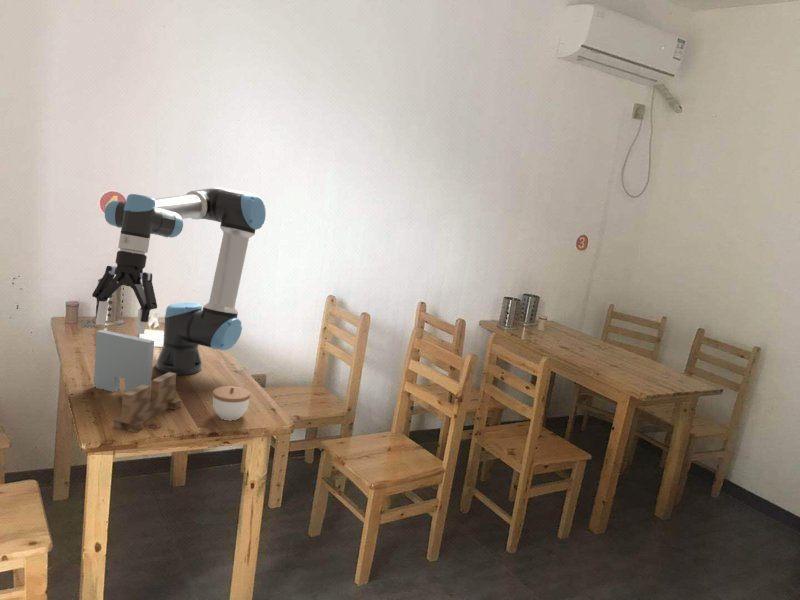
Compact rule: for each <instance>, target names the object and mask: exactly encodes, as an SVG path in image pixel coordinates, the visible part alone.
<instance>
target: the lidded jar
mask: <svg viewBox="0 0 800 600" xmlns="http://www.w3.org/2000/svg"><path fill="white" fill-rule="evenodd" d="M250 397H251V392H250V390H248V389H247V388H244V387H240V386H235V385H234V386H233V385H225V386H219V387H216V388H215V389H214V390H213V392H212V407H213V410H214V412H215V413H216V415H217V416H218V417H219V419H221V420H223V419H224V421H227V420H228V421H229V422H231V421H232V420H234V421H238V420H239V419H241V417H242V416H243V415H244V414H245V413H246V412H247V410H248V408H249V404H250V399H251V398H250ZM237 419H238V420H237Z"/></svg>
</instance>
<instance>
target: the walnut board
mask: <svg viewBox="0 0 800 600" xmlns="http://www.w3.org/2000/svg"><path fill="white" fill-rule="evenodd" d="M176 382H177V374H176V373H172V372H168V373H164V374H162V375H160V376H158V377H156V378H153V379H151V386H148V385H144V384H143V385H140V386H138V387H136V388H134V389H132V390H130V391H128V392H126V393H125V392H124V393H122V399H121V411H120V412H121V413H120V414H121V416H118V417H117V418H114V419H113V420H112V421H113V423H112V427H113V428H116V429H120V430H125V431H127V432H128V431H129V432H130V433H131V432H133V433H137V432H139V431H141V430H143V429H144V423H145V422H146V421H148V420H150V419H152V418H153V417H156V416H157V415H158V414H160V413H162V412H164V411H166V410H168V409H171V410H174V411H175V410H177V409H180V408H181V407H182V400H181V399H178V398H176V397H175V396H176ZM150 387H151V392H150Z"/></svg>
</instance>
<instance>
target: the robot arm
mask: <svg viewBox="0 0 800 600" xmlns="http://www.w3.org/2000/svg"><path fill="white" fill-rule="evenodd" d="M266 211H267V210H266V206H265V202H264V200H263V199H262V197H261V196H259V195H258V194H256V193H251V192H248V191H241V190H235V189H228V188H224V187H213V188H211V187H210V188H204V189H197V190H190V191H188V192H187V193H186V194H183V195H176V196H175V195H174V196H167V197H159V198H153V197H152V196H151V197H150V196H148V195H147V196H146V195H141V194H136V193H130V194H128V195H127V196H126V199H125V201H122V200H111V201H109V202H108V204H106V206H105V209H104V219H105V221H106V222H107V224H108V225H110V226H114V227H117V228H121V230H120V234H119V241H118V247H117V248H118V249H119V250H118V251H116V257H115V264H116V266H112V265H107V266H106V268H105V272H104V274H103V275H102V277H101V279H100V281H99V282H98V284H97V286H96V287H95V288H94V291H93V292H92V294H91V295H92V298H95V299H96V300H97V302H96V303H97V304H96V309H95V310H96V313H97V314H96V319H95V324H94V325H95V326H106V321H107V315H108V311H109V310H108V309H109V303H110V301H109V299H110V298H111V297H112V295H113V294H114V293H115V292H116V291H117V290H118V289H119V288H120V287H122V286H126V287H130V288H131V289H132V290H133V292H134V295H135V297H136V300H137V302H138V303H139V306H140V308H139V309H138V310H137V318H136V322H135V323H136V324H135V328H134V334H135V335H144V334H145V329H146V324H147V323H148V322H149V317H150V312H151V311H152V310H156V309H158V304H157V299H156V293H155V290H154V286H153V273H152V272H143V271H144V268H146V263H147V255H146V254H147V253H149V246H150V240H151V234H152V235H155V236H160V237H163V238H176V237H178V236H179V235H180V234H181V232H182V231H183V228H184V221H183V220H185V219H192V220H208V221H213V222H216V223H220V226H219V227H220V229H221V231H222V233H223V235H222V239H221V243H220V244H221V245H220V248H219V254H218V259H217V262H216V266H215V267H216V268H215V272H214V275H213V281H212V282H213V283H212V286H211V292H210V294H209V295H210V296H209V301H208V303H205V304H204V305H203V307H202V305H201V304H200V303H198V302H178V303H172V304H170V305H168V306H167V307H166V308H165V315H164V328H163V345H162V348H161V350H160V352H159V354H158V357H157V360H156V365H155V366H156V367H155V368H156V369H157V370H158V371H160V372H163V373H164V374H166V373H168V372H172V373H176V375H179V376H180V375H181V376H183V375H193V374H197V373H199V372H201V370H202V368H203V366H202V365H203V361H202V357H201V353H200V349H199V346H202V347H203V346H204V347H208V348H210V349H213V350H220V351H228V350H230V349H231V348H233V347H234V346H235V345H236V344H237V343H238V341H239V339H240V337H241V335H242V330H243V326H242V321H241V320H240V319H239V318H238V314H239V312H238V310H237V309H236V303H237V298H238V297H237V296H238V292H239V288H240V283H241V278H242V273H243V269H244V265H245V260H246V254H247V250H248V245H249V241H250V239H251V237H253V236H254V235H255V234H256V230H259V229H261V228H262V227H263V225H264V224H265V221H266Z"/></svg>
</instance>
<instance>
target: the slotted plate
mask: <svg viewBox="0 0 800 600" xmlns="http://www.w3.org/2000/svg"><path fill="white" fill-rule="evenodd" d="M95 333H96V337H95V350H94V351H95V353H94V374H93V388H94V387H96V388H95V389H99V390H103V389H104V391H108V392H111V393H112V392H113V393H114V392H117V391H118V390H119V389H120V379H123V380H125V389H124V393H126V392H128V391H130V390H132V389H134V388H136V387H138V386H140V385H143V384H144V385H148V386H151V380H152V378H153V377H152V374H153V363H154V362H153V361H154V359H153V358H154V349H155V345H154V344H155V340H153V339H147V338H142V337H138V336H133V335H128V334H125V333H119V332H116V331H115V332H114V331H110V330H106V329H105V330H104V329H100V330H99V329H98V330H96V332H95ZM150 393H151V387H150Z"/></svg>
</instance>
